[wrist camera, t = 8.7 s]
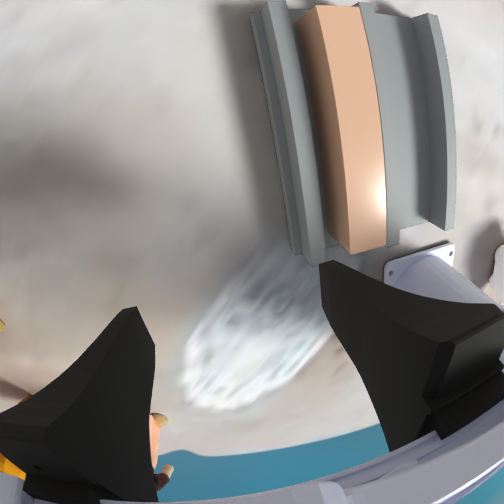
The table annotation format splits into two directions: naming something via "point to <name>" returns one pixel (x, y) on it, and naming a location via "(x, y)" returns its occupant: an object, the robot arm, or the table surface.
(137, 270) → the table surface
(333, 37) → the clay strip
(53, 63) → the table surface
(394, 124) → the rack
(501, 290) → the white bone
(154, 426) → the grandmother figurine
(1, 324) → the candy box
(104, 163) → the table surface
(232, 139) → the table surface
